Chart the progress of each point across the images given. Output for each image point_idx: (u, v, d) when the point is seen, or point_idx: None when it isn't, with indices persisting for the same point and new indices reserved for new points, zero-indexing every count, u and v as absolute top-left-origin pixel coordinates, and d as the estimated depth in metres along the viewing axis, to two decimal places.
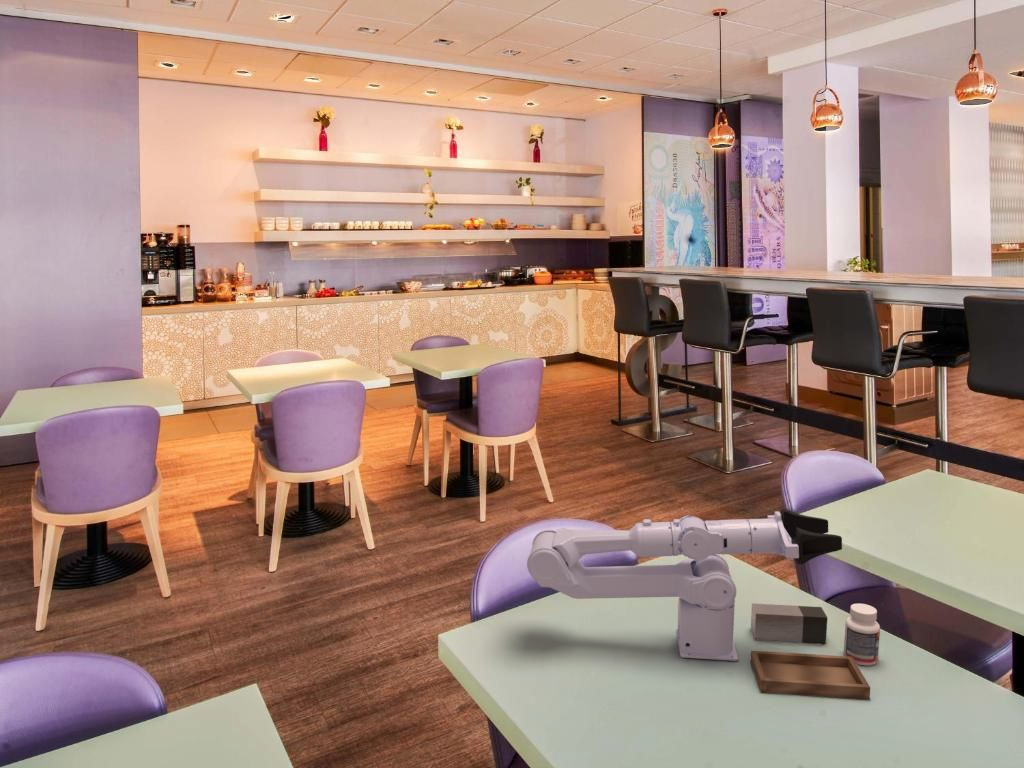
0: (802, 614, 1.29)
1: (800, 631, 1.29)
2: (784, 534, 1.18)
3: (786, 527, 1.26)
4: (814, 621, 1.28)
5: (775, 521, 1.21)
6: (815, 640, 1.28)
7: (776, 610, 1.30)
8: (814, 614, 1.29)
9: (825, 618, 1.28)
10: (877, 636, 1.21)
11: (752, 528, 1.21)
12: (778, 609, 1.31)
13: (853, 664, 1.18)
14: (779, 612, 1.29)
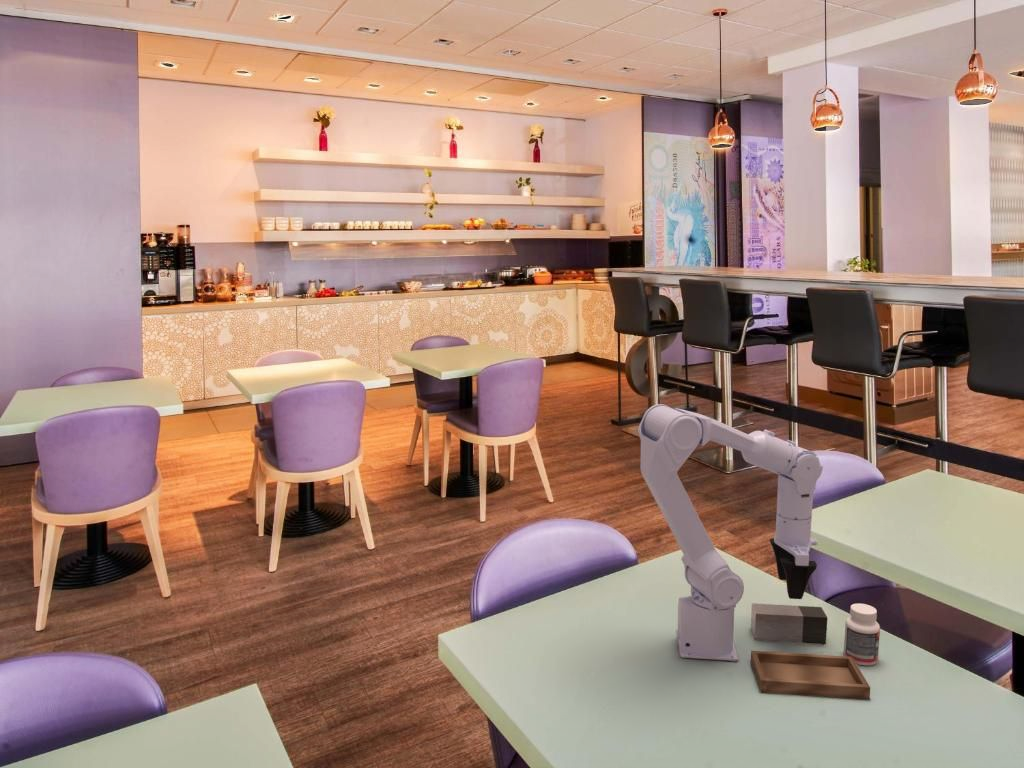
0: (802, 614, 1.29)
1: (800, 631, 1.29)
2: None
3: None
4: (814, 621, 1.28)
5: (810, 539, 1.27)
6: (815, 640, 1.28)
7: (776, 610, 1.30)
8: (814, 614, 1.29)
9: (825, 618, 1.28)
10: (877, 636, 1.21)
11: (809, 520, 1.25)
12: (778, 609, 1.31)
13: (853, 664, 1.18)
14: (779, 612, 1.29)
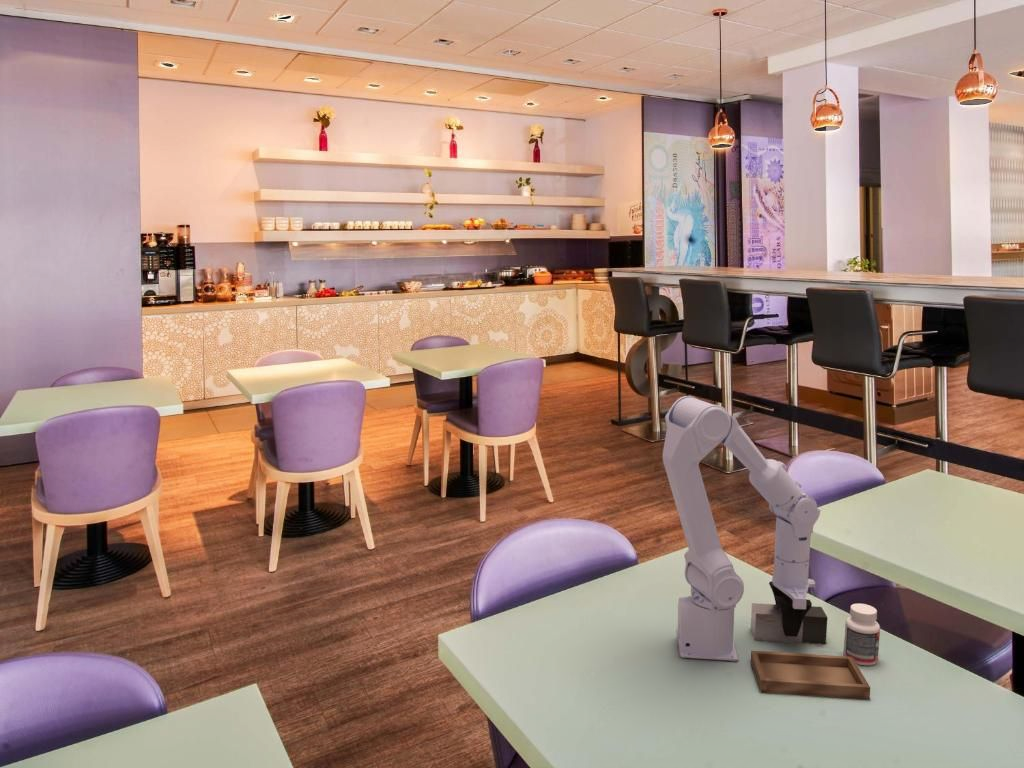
0: None
1: (800, 631, 1.29)
2: (806, 593, 1.25)
3: None
4: (814, 621, 1.28)
5: (807, 581, 1.28)
6: (815, 640, 1.28)
7: (776, 609, 1.30)
8: (814, 614, 1.29)
9: (825, 618, 1.28)
10: (877, 636, 1.21)
11: (806, 562, 1.27)
12: (778, 609, 1.31)
13: (853, 664, 1.18)
14: (779, 612, 1.29)
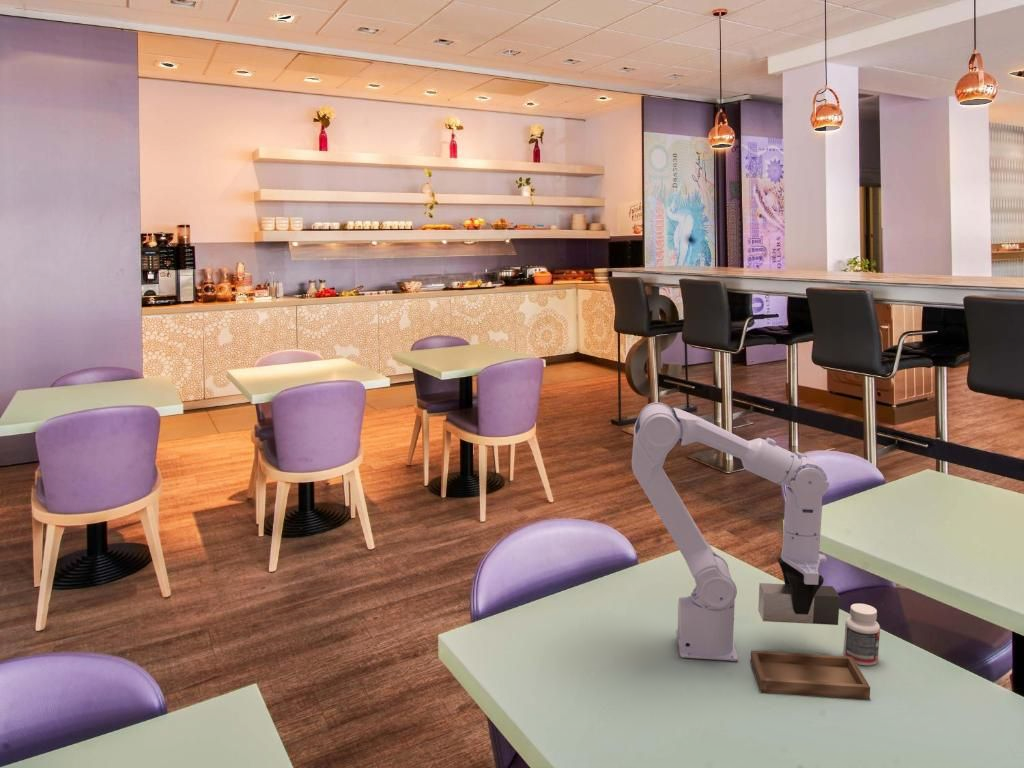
0: None
1: (811, 611, 1.22)
2: None
3: None
4: (826, 600, 1.21)
5: (818, 556, 1.22)
6: (827, 621, 1.22)
7: (786, 589, 1.24)
8: (825, 593, 1.22)
9: (837, 597, 1.21)
10: (877, 636, 1.21)
11: (818, 536, 1.20)
12: (787, 588, 1.24)
13: (853, 664, 1.18)
14: (789, 591, 1.23)
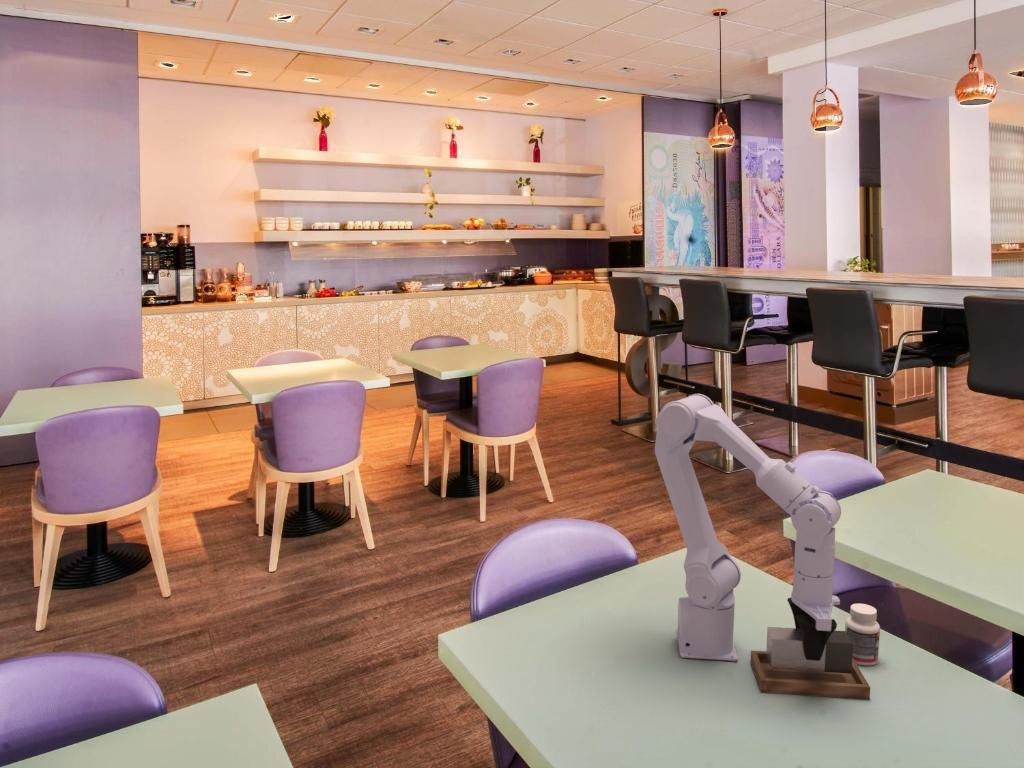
0: None
1: (822, 659, 1.14)
2: None
3: None
4: (838, 647, 1.14)
5: (831, 598, 1.14)
6: (839, 669, 1.14)
7: (795, 634, 1.16)
8: (838, 640, 1.14)
9: (851, 644, 1.13)
10: (877, 636, 1.21)
11: (831, 577, 1.12)
12: (797, 634, 1.17)
13: (853, 664, 1.18)
14: (799, 637, 1.15)
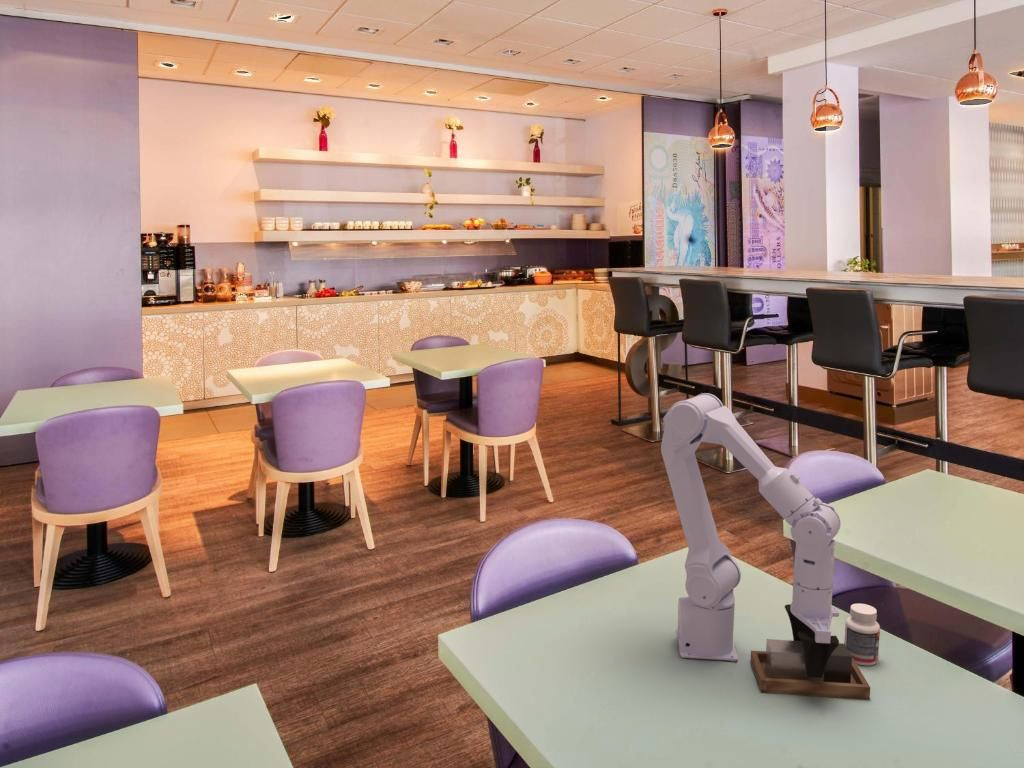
0: None
1: None
2: None
3: None
4: (837, 660, 1.14)
5: (831, 610, 1.14)
6: (838, 682, 1.15)
7: (794, 647, 1.17)
8: (837, 653, 1.15)
9: (849, 657, 1.14)
10: (877, 636, 1.21)
11: (830, 589, 1.13)
12: (796, 646, 1.17)
13: (853, 664, 1.18)
14: (798, 650, 1.16)
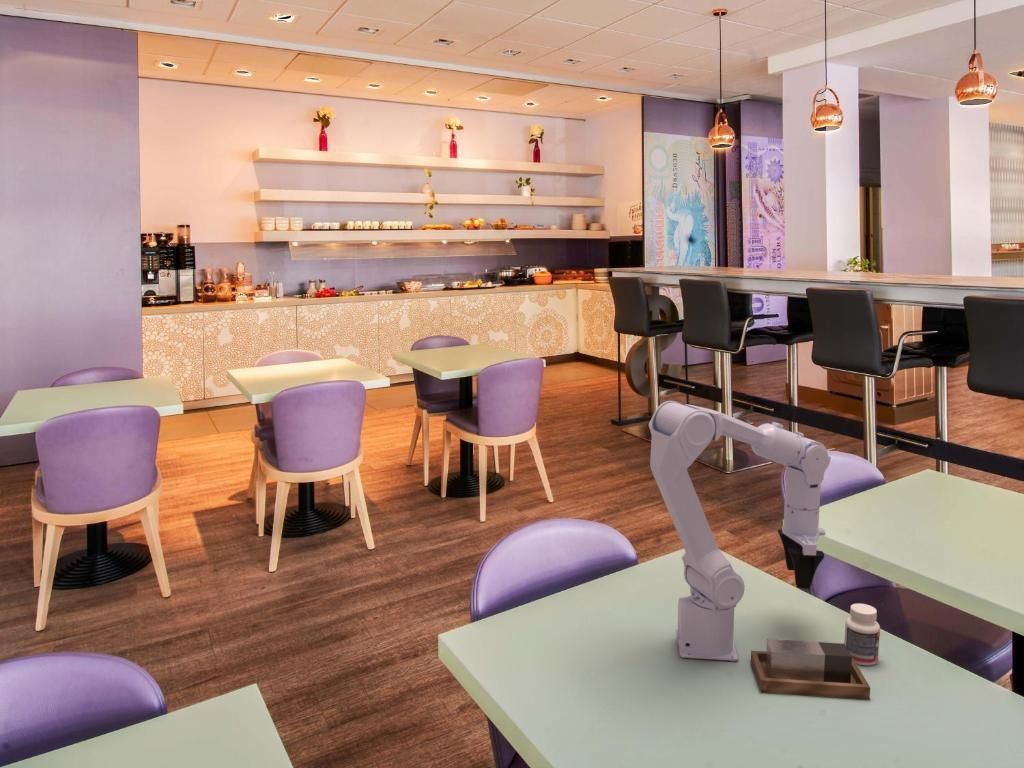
0: (823, 652, 1.15)
1: (821, 671, 1.15)
2: (816, 540, 1.25)
3: None
4: (837, 660, 1.14)
5: (818, 530, 1.28)
6: (838, 682, 1.15)
7: (794, 647, 1.17)
8: (837, 653, 1.15)
9: (849, 657, 1.14)
10: (877, 636, 1.21)
11: (817, 510, 1.27)
12: (796, 646, 1.17)
13: (853, 664, 1.18)
14: (798, 650, 1.16)
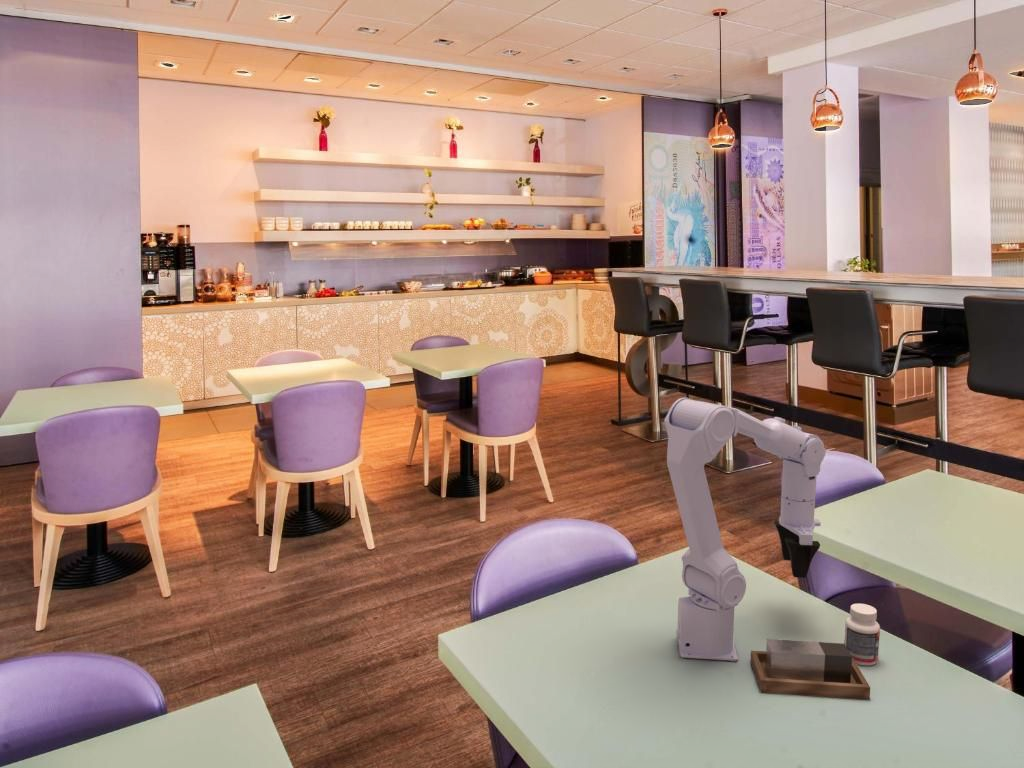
0: (823, 652, 1.15)
1: (821, 671, 1.15)
2: (812, 531, 1.29)
3: None
4: (837, 660, 1.14)
5: (813, 521, 1.32)
6: (838, 682, 1.15)
7: (794, 647, 1.17)
8: (837, 653, 1.15)
9: (849, 657, 1.14)
10: (877, 636, 1.21)
11: (812, 502, 1.31)
12: (796, 646, 1.17)
13: (853, 664, 1.18)
14: (798, 650, 1.16)
